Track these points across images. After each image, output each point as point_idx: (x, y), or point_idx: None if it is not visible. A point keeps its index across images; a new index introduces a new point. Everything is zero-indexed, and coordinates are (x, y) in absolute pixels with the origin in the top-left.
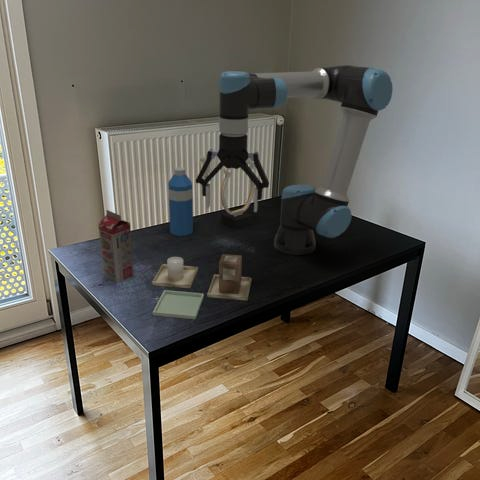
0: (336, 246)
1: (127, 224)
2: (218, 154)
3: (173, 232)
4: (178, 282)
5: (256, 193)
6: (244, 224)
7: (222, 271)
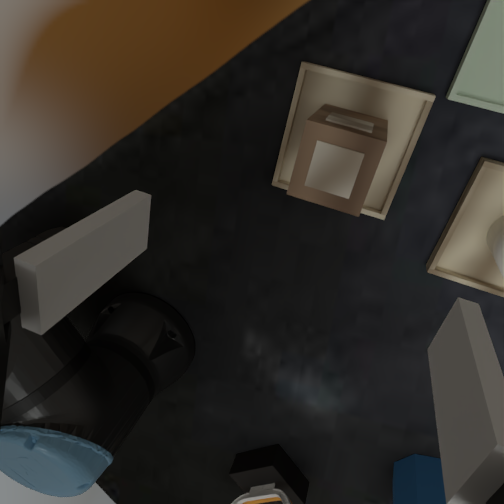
0: None
1: None
2: None
3: None
4: None
5: (47, 246)
6: (253, 454)
7: (374, 131)
